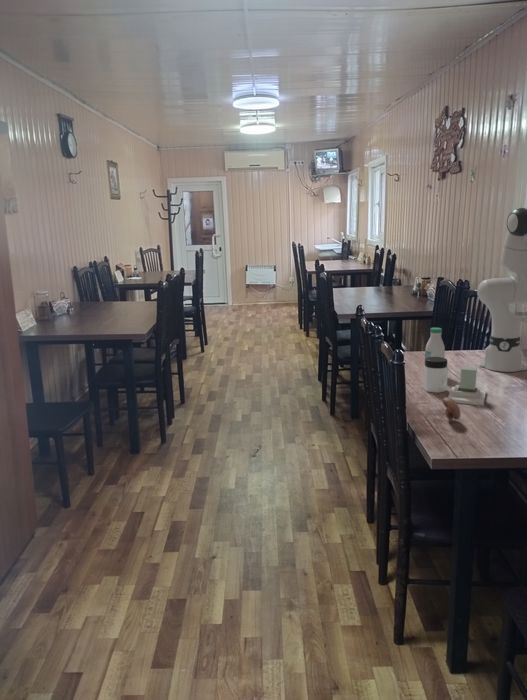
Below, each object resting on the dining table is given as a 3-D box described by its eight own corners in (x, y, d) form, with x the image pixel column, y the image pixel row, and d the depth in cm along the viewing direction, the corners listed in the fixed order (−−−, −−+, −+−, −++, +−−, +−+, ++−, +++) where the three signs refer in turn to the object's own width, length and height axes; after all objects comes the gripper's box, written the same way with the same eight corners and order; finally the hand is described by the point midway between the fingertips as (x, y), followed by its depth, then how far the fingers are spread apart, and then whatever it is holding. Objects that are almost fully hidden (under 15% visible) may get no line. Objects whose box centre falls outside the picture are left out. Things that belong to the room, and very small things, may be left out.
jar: (435, 394, 209) (436, 363, 207) (418, 389, 216) (419, 358, 213) (451, 390, 214) (452, 359, 212) (433, 385, 221) (435, 355, 218)
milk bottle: (444, 374, 236) (447, 327, 232) (442, 378, 229) (444, 330, 225) (425, 372, 239) (428, 326, 235) (422, 376, 233) (424, 329, 228)
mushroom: (441, 416, 186) (443, 393, 184) (461, 418, 184) (463, 395, 182) (438, 423, 179) (440, 399, 178) (459, 426, 177) (460, 402, 175)
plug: (460, 394, 209) (462, 365, 206) (474, 396, 207) (476, 367, 204) (459, 398, 204) (461, 369, 202) (473, 400, 202) (476, 370, 200)
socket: (451, 389, 215) (452, 381, 214) (485, 392, 210) (486, 385, 210) (447, 401, 201) (447, 393, 200) (483, 405, 196) (484, 397, 195)
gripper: (559, 304, 200) (516, 303, 205) (563, 313, 182) (517, 311, 187) (557, 322, 201) (515, 320, 207) (561, 332, 183) (515, 330, 188)
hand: (516, 316), depth 197 cm, fingers open, 8 cm apart
